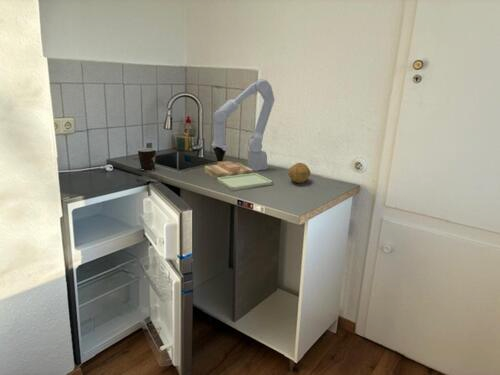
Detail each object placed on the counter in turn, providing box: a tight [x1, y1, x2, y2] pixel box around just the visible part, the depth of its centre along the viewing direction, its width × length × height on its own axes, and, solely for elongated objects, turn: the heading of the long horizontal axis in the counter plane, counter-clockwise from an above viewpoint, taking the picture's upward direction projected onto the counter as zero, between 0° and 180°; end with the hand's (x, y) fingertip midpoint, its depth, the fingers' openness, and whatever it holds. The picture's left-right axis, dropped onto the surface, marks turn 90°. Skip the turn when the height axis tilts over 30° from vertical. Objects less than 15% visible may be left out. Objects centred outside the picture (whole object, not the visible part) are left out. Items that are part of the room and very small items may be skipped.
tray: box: [216, 172, 274, 192], centre depth 170 cm, size 20×16×2 cm
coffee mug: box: [137, 147, 157, 171], centre depth 188 cm, size 12×9×10 cm
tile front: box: [224, 164, 241, 172], centre depth 180 cm, size 6×6×2 cm
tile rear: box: [217, 160, 235, 168], centre depth 186 cm, size 6×6×2 cm
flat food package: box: [204, 162, 254, 180], centre depth 184 cm, size 18×16×3 cm
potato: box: [288, 162, 311, 184], centre depth 172 cm, size 10×14×8 cm
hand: (219, 162), depth 192 cm, fingers closed
